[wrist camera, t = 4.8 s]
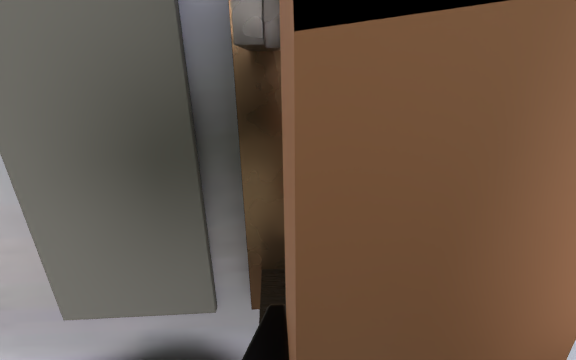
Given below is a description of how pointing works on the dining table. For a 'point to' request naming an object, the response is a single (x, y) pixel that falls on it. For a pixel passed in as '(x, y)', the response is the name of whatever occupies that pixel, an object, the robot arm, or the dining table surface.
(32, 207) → the mat
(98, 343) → the dining table surface
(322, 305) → the rail
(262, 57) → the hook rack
